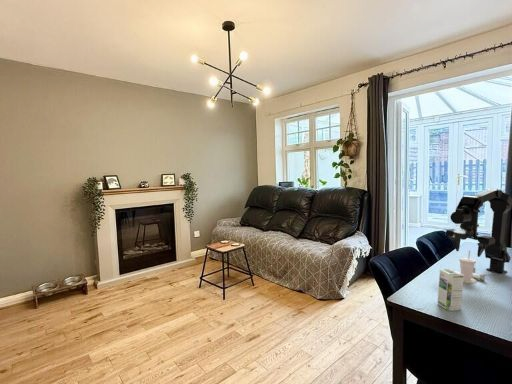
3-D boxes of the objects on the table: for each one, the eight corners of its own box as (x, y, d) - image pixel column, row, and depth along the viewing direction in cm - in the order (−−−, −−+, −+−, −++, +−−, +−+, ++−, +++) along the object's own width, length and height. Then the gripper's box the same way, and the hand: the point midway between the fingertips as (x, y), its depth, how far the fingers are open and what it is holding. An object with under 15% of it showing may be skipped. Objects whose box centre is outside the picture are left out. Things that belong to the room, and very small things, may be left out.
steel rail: (471, 272, 141) (472, 267, 141) (492, 279, 133) (492, 273, 133) (463, 275, 138) (463, 269, 138) (483, 281, 130) (483, 275, 130)
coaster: (462, 275, 138) (462, 274, 138) (480, 281, 131) (480, 280, 131) (452, 278, 135) (452, 277, 135) (470, 284, 128) (470, 283, 128)
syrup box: (436, 303, 110) (438, 269, 109) (450, 303, 111) (452, 268, 109) (447, 311, 105) (450, 274, 103) (462, 310, 105) (464, 274, 104)
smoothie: (477, 282, 129) (479, 253, 128) (462, 280, 130) (464, 252, 129) (470, 276, 135) (472, 249, 134) (455, 275, 137) (457, 248, 135)
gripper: (439, 220, 136) (437, 250, 137) (482, 227, 119) (479, 262, 120) (453, 218, 140) (451, 247, 141) (497, 225, 123) (494, 259, 124)
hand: (467, 253), depth 132 cm, fingers open, 9 cm apart
